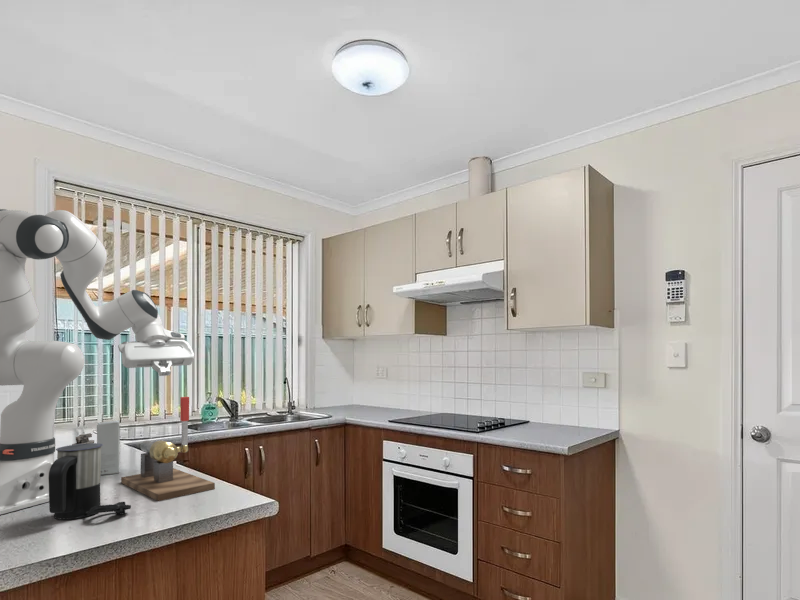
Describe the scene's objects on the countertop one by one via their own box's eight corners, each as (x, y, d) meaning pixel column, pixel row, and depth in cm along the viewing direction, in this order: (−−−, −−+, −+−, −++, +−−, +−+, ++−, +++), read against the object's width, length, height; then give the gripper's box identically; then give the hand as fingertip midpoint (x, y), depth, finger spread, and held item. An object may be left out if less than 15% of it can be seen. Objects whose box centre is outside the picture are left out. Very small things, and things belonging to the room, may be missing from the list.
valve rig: (121, 482, 146) (121, 439, 147) (172, 473, 156) (173, 432, 157) (158, 501, 127) (158, 451, 128) (214, 488, 137) (214, 442, 138)
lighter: (78, 469, 165) (78, 436, 166) (68, 469, 166) (69, 436, 167) (96, 463, 173) (97, 432, 174) (87, 463, 174) (88, 432, 175)
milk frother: (59, 510, 122) (61, 444, 123) (136, 502, 127) (136, 438, 128) (41, 530, 108) (43, 455, 110) (128, 519, 114) (129, 448, 115)
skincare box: (119, 473, 158) (119, 422, 159) (95, 476, 155) (96, 424, 157) (119, 468, 165) (120, 419, 167) (97, 470, 163) (98, 421, 164)
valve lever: (179, 452, 146) (180, 397, 147) (186, 451, 147) (186, 396, 148) (183, 453, 144) (183, 397, 145) (189, 452, 145) (189, 397, 147)
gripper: (119, 334, 156) (130, 368, 149) (188, 334, 171) (202, 365, 163) (114, 350, 159) (124, 384, 151) (182, 348, 173) (195, 379, 166)
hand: (165, 374), depth 157 cm, fingers closed
